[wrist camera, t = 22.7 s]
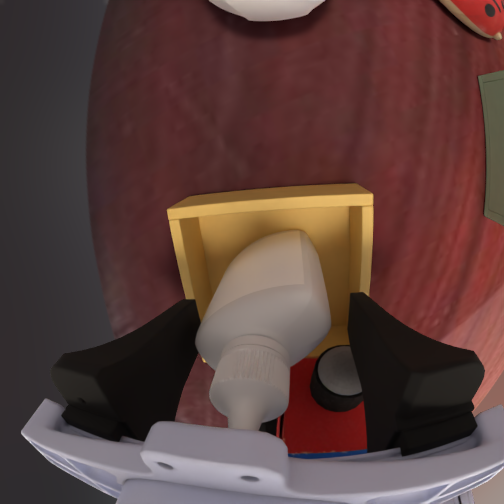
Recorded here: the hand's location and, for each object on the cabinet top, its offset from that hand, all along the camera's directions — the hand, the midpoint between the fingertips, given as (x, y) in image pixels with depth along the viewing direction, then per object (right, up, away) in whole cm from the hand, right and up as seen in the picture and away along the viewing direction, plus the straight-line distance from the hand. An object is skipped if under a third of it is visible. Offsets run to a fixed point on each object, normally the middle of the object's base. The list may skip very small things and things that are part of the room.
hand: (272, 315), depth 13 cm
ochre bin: (+1, +2, +5) cm, 6 cm away
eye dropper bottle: (0, +2, +5) cm, 5 cm away
